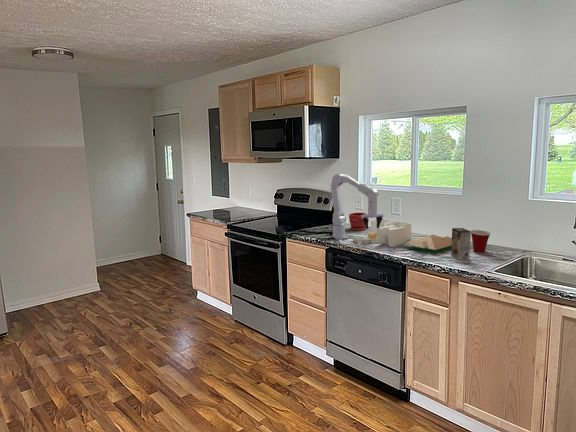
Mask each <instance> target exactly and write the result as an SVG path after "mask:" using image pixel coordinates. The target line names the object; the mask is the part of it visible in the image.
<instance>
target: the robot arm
mask: <svg viewBox="0 0 576 432" xmlns="http://www.w3.org/2000/svg"><path fill="white" fill-rule="evenodd" d="M331 179H332V180H331V184H330V191H331V199H332V204H333V205H332V206H333V214H332V224H333V227H332V235H331V237H332V238H334V239H335V240H338V239H339V240H340V239H342V240H343V239H347V236H346V233H345V232H346V229H345V225H346V222H347V217H346V215H345V212H344V211H343V207H342V201H341V194H340V187H341V186H342V184H349V185H351V186H353V187H355V188H356V189H357V191H358V192H360V193H362V194H363V195H364V196H366V197H367V202H368V203H367V205H368V206H367V213H366V215H362V219H363V221H364V223H365V227H366V230H368V229H369V219H370V218H371V219H373V218H376V219H375V220H377V228H379V226H380V223H381V221H382V219H384V213H378V197H379V191H378V190H377V189H376V188H373V187H372V186H371V187H370V186H369V185H367V183H360V182H359V181H358V180H355V179H354V178H352V177H351V176H350V175H348V174H346V173H343V172H342V173H336V174H334V175H333V176H332V178H331Z"/></svg>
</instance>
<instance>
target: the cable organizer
mask: <svg viewBox="0 0 576 432" xmlns="http://www.w3.org/2000/svg"><path fill="white" fill-rule="evenodd" d="M377 236H378V243H377V244H379V245H382V246H385V245H387V244H388V246H389V248H396V247H401V246H405V244H403V243H405V242H407V240H406V228H405V227H400V228H397V227H396V226H393V225H392V226H386V227H380V228H379V229H378V235H377Z"/></svg>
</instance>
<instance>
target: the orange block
mask: <svg viewBox="0 0 576 432" xmlns="http://www.w3.org/2000/svg"><path fill="white" fill-rule="evenodd" d="M377 236H378V235H377V234H375V233H371V232H370V233H368V237H367V238H369V239H377Z"/></svg>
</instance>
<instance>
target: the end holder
mask: <svg viewBox="0 0 576 432" xmlns="http://www.w3.org/2000/svg"><path fill="white" fill-rule="evenodd" d="M363 239H368V244H378V235H377V239H369V238H368V237H367V236H363Z"/></svg>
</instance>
